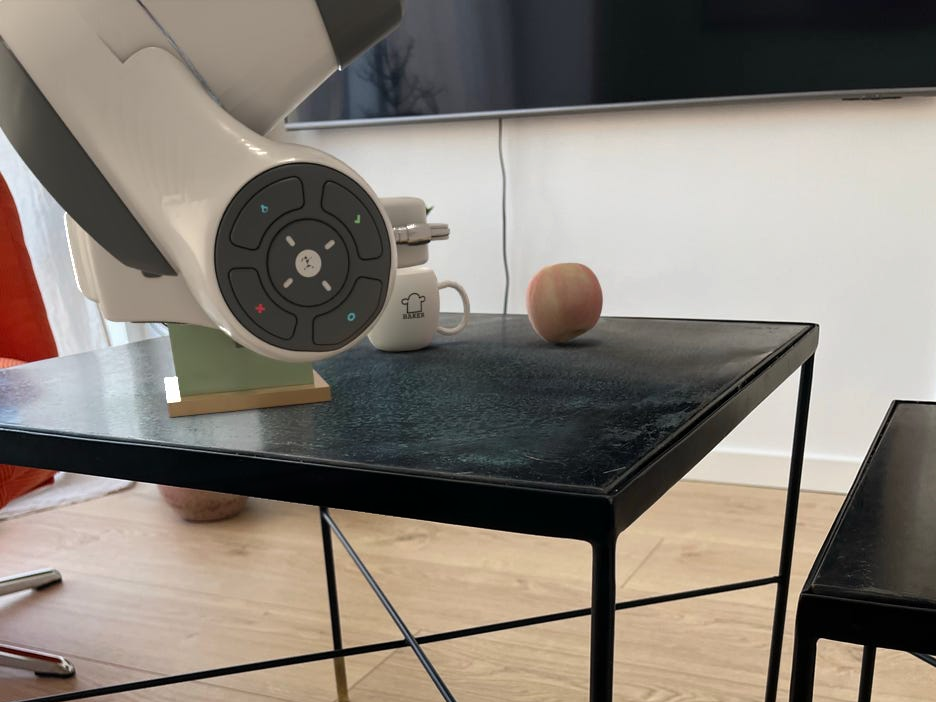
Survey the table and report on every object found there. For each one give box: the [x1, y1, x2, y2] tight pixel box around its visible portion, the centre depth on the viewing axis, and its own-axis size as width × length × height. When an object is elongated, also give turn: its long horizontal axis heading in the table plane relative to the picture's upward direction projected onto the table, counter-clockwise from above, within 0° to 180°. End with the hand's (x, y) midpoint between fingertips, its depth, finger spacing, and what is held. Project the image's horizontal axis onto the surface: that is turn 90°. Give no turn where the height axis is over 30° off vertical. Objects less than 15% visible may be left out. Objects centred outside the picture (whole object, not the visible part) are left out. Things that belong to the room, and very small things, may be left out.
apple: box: [525, 262, 604, 345], centre depth 105 cm, size 8×8×8 cm
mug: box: [366, 266, 471, 352], centre depth 107 cm, size 12×8×8 cm
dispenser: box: [164, 323, 332, 418], centre depth 84 cm, size 13×13×16 cm
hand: (243, 235), depth 64 cm, fingers closed
